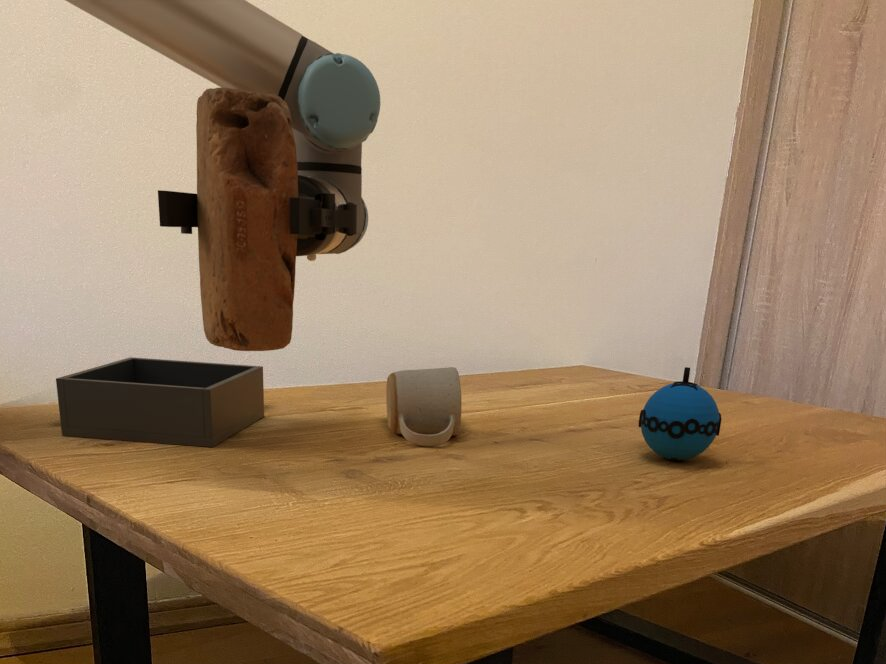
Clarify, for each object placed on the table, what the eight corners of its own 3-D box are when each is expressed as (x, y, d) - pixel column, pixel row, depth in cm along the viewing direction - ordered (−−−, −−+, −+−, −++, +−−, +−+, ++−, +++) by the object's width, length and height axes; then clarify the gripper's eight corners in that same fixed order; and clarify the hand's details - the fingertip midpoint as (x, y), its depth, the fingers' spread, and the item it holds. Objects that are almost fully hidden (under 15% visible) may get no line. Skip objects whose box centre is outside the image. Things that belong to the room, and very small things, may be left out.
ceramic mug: (383, 426, 111) (385, 361, 108) (451, 427, 112) (454, 362, 109) (393, 448, 101) (395, 377, 98) (466, 449, 102) (471, 378, 99)
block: (199, 338, 86) (188, 93, 78) (279, 339, 88) (276, 103, 81) (217, 355, 76) (206, 79, 69) (306, 355, 79) (306, 90, 72)
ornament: (712, 473, 97) (728, 376, 94) (630, 463, 99) (642, 368, 96) (715, 456, 105) (730, 366, 101) (639, 447, 107) (650, 359, 103)
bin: (61, 435, 98) (55, 378, 96) (134, 406, 115) (130, 357, 112) (212, 447, 97) (210, 389, 95) (264, 416, 113) (263, 366, 111)
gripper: (412, 261, 95) (366, 270, 75) (198, 249, 97) (97, 253, 77) (414, 181, 92) (368, 167, 72) (195, 170, 95) (89, 154, 74)
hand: (228, 212), depth 74 cm, fingers closed on block, 10 cm apart
